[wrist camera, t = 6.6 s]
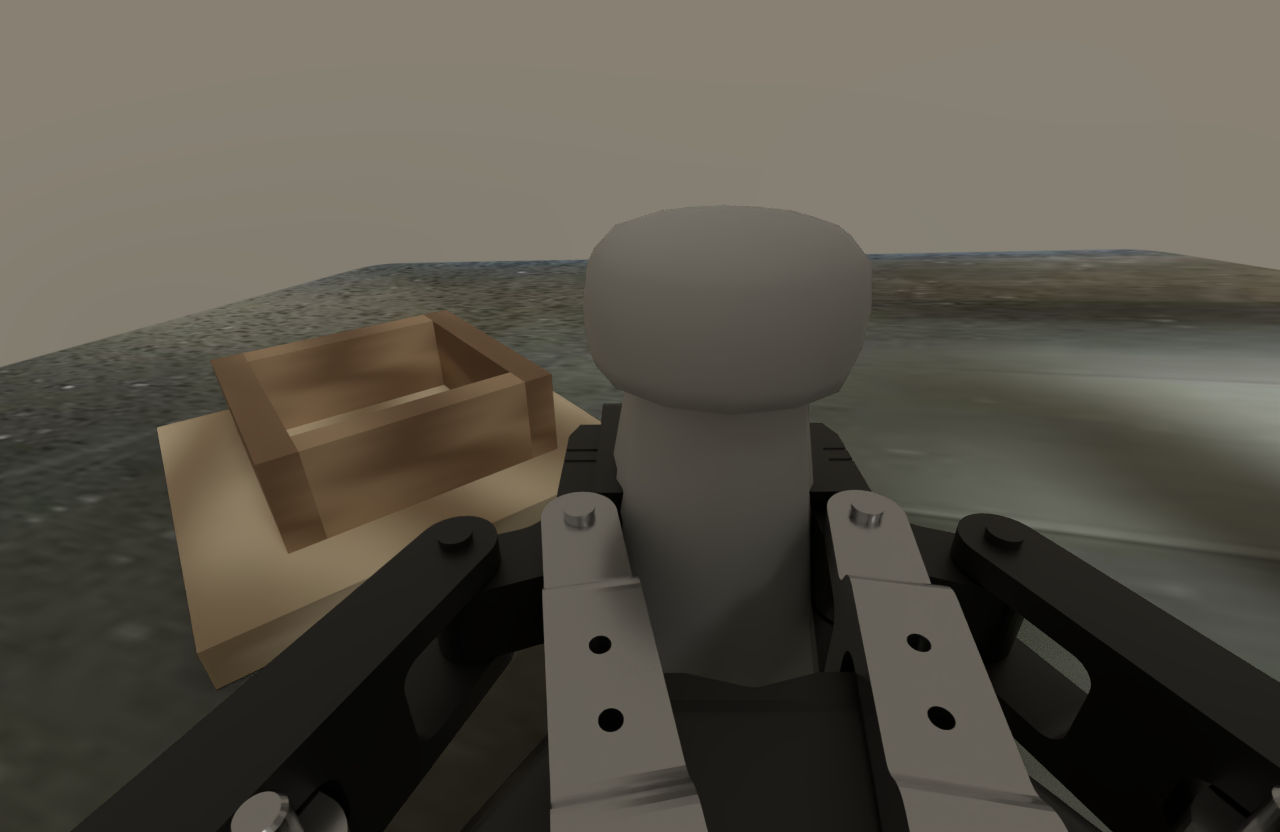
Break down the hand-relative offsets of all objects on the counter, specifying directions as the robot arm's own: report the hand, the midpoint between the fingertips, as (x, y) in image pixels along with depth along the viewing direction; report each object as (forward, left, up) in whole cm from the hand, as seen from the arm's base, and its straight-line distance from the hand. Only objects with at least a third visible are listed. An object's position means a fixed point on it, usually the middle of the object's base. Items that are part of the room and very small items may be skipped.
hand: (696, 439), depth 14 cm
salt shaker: (+2, +2, -8) cm, 8 cm away
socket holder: (+3, -16, -8) cm, 18 cm away
